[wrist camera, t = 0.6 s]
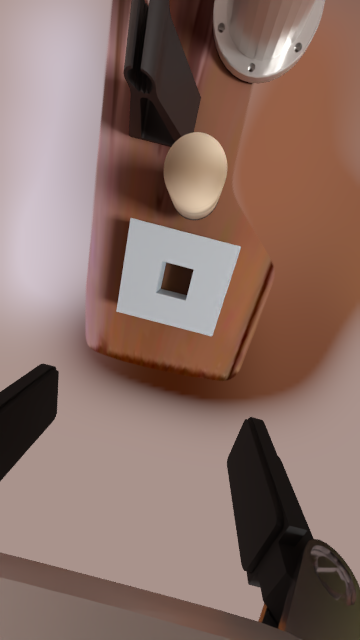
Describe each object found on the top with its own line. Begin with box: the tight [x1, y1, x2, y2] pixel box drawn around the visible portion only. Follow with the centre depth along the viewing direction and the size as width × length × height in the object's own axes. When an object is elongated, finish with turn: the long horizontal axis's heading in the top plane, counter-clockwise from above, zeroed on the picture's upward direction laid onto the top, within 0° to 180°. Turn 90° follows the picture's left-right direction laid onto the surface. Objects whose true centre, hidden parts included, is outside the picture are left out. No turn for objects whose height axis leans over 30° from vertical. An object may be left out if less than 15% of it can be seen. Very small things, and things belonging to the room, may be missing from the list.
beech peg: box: [164, 132, 227, 220], centre depth 25 cm, size 6×6×11 cm
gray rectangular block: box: [117, 218, 241, 336], centre depth 32 cm, size 14×16×4 cm
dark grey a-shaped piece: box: [124, 0, 201, 147], centre depth 22 cm, size 9×6×12 cm, turn 76°
